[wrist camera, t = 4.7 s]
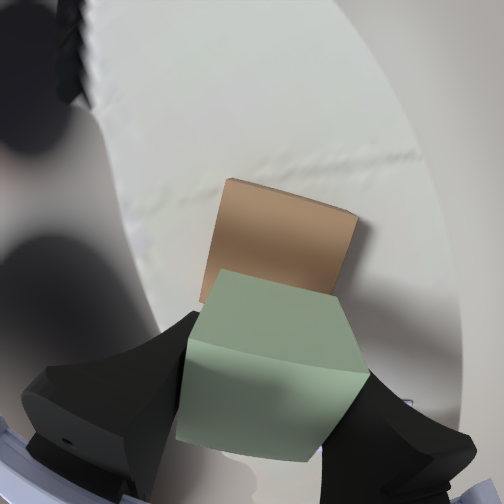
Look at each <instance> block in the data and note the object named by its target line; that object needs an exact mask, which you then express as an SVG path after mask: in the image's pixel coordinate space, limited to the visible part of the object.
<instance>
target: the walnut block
mask: <svg viewBox="0 0 504 504" xmlns="http://www.w3.org/2000/svg"><path fill="white" fill-rule="evenodd" d="M357 220H358V217H357V216H356V215H354V214H352V213H351V212H349V211H347V210H344V209H341V208H338V207H335V206H332V205H329V204H325V203H322V202H319V201H315V200H312V199H309V198H305V197H302V196H299V195H295V194H292V193H288V192H285V191H281V190H277V189H274V188H270V187H266V186H262V185H259V184H255V183H251V182H247V181H243V180H239V179H235V178H230V179H226V182H225V186H224V190H223V194H222V198H221V203H220V207H219V211H218V215H217V220H216V224H215V228H214V233H213V237H212V242H211V246H210V251H209V255H208V260H207V265H206V269H205V274H204V279H203V284H202V289H201V294H200V299H199V302H201V303H204V304H205V301H206V299H207V297H208V295H209V293H210V291H211V289H212V287H213V284H214V282H215V280H216V278H217V276H218V274H219V272H220V270H221V269H225V270H228V271H232V272H236V273H240V274H244V275H248V276H252V277H256V278H260V279H264V280H268V281H272V282H277V283H281V284H285V285H289V286H293V287H297V288H301V289H306V290H310V291H314V292H318V293H323V294H327V295H331V293H332V290H333V288H334V285H335V283H336V280H337V277H338V275H339V272H340V269H341V266H342V264H343V261H344V258H345V255H346V253H347V250H348V247H349V244H350V241H351V238H352V235H353V232H354V229H355V226H356V223H357Z"/></svg>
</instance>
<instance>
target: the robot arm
mask: <svg viewBox="0 0 504 504" xmlns="http://www.w3.org/2000/svg"><path fill="white" fill-rule="evenodd" d="M199 314H200V312H196V311H192V312H190V313H189V314H188V315H186V316H185V317H184V318H183V319H181V320H180V321H179V322H177V323H176V324H174V325H173V326H172V327H170V328H169V329H167V330H166V331H164V332H163V333H161V334H160V335H158V336H156V337H154V338H153V339H151V340H149V341H147V342H145V343H144V344H142V345H140V346H137V347H135V348H133V349H131V350H128V351H126V352H123V353H120V354H117V355H114V356H110V357H108V358H104V359H100V360H96V361H91V362H86V363H80V364H72V365H60V366H47V367H46V368H45V369H44V370H43V371H42V372H40V374H38V376H37V377H36V378H35V379H34V380H33V381H32V382H31V384H30V385H29V386H28V387H27V388H26V389H25V390H24V391H23V393H22V394H21V400H22V404H23V407H24V410H25V411H26V413H27V416H28V417H29V419H30V421H31V423H32V425H33V427H34V429H35V430H36V433H35V434H34V436H33V437H32V439H31V440H30V441H29V442H28V441H27V440H25V439H24V438H23V437H21V436H20V435H19V434H17V433H16V432H15V431H13V430H12V429H11V428H10V427H8V425H7V423H6V421H5V419H4V418H3V416H2V415H1V413H0V495H1V496H2V497H3V498H4V499H5V500H6V501H7V502H9V503H10V504H150V503H149V501H150V496H151V492H152V489H153V485H154V482H155V478H156V475H157V471H158V468H159V464H160V461H161V457H162V454H163V451H164V448H165V445H166V441H167V438H168V435H169V432H170V429H171V426H172V423H173V420H174V418H175V415H176V413H177V411H178V409H179V403H180V395H181V387H182V380H183V372H184V365H185V358H186V351H187V344H188V338H189V336H190V334H191V331H192V329H193V327H194V325H195V323H196V321H197V318H198V316H199ZM369 372H370V376H369V377H368V379H367V380H366V382H365V384H364V385H363V387H362V388H361V390H360V392H359V393H358V395H357V396H356V398H355V399H354V401H353V402H352V404H351V405H350V407H349V408H348V410H347V411H346V413H345V414H344V415H343V417H342V418H341V420H340V421H339V422H338V424H337V425H336V426H335V428H334V429H333V431H332V432H331V433H330V434H329V436H328V437H327V438H326V440H325V441H324V442H323V444H322V445H321V446H320V447H319V449H318V450H317V451H319V452H322V483H321V495H320V504H502V503H501V501H500V498H499V496H498V494H497V491H496V489H495V487H494V484H493V482H492V480H491V479H490V478H489V479H487V480H485V481H483V482H480V483H478V484H476V485H474V486H473V487H471V488H470V489H468V490H467V491H466V492H464V493H463V494H462V495H461V496H460V497H457V498H455V499H452V500H449V497H448V494H447V491H448V490H450V489H451V485H450V482H449V481H450V480H451V479H453V478H454V477H455V476H456V475H457V474H458V473H460V472H461V471H462V470H463V469H464V468H466V467H467V466H468V465H469V464H470V463H471V461H472V460H473V459H474V458H475V455H476V453H477V449H476V447H475V445H474V443H473V441H472V439H471V437H470V436H469V435H466V434H463V433H460V432H458V431H455V430H453V429H450V428H448V427H445V426H443V425H441V424H439V423H437V422H435V421H433V420H431V419H430V418H428V417H426V416H425V415H423V414H421V413H420V412H418V411H417V410H415V409H414V408H412V407H411V406H412V402H411V401H403V400H401V399H400V398H399V397H398V396H396V395H395V394H394V393H393V392H392V391H391V390H390V389H389V388H387V387H386V386H385V385H384V384H383V383H382V382H381V381H380V380H379V379H378V378H377V377H376V376H375V375H374V374H373V373H372V372H371V371H370V370H369Z"/></svg>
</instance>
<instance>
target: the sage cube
mask: <svg viewBox="0 0 504 504" xmlns="http://www.w3.org/2000/svg"><path fill="white" fill-rule="evenodd" d="M369 376H370V372H369V369H368V367H367V364H366V362H365V360H364V357H363V355H362V352H361V350H360V348H359V345H358V343H357V341H356V338H355V336H354V334H353V332H352V329H351V327H350V325H349V322H348V320H347V318H346V316H345V314H344V311H343V309H342V307H341V305H340V303H339V300H338V298H337V297H336V296H331V295H327V294H323V293H318V292H314V291H310V290H306V289H301V288H297V287H293V286H289V285H285V284H281V283H277V282H272V281H268V280H264V279H260V278H256V277H252V276H248V275H244V274H240V273H236V272H232V271H228V270H225V269H221V270H220V272H219V274H218V276H217V278H216V280H215V282H214V284H213V287H212V289H211V291H210V293H209V295H208V297H207V299H206V301H205V304H204V306H203V308H202V310H201V312H200V314H199V316H198V318H197V321H196V323H195V325H194V327H193V329H192V331H191V334H190V336H189V338H188V344H187V351H186V358H185V365H184V372H183V380H182V387H181V395H180V403H179V412H178V422H177V430H176V431H177V432H176V439H177V440H180V441H184V442H187V443H191V444H195V445H199V446H203V447H207V448H211V449H216V450H220V451H225V452H230V453H235V454H240V455H246V456H252V457H259V458H266V459H274V460H283V461H294V462H308V461H309V459H310V458H311V457H312V456H313V455H314V453H315V452H316V451H317V450H318V449H319V447H320V446H321V445H322V444H323V442H324V441H325V440H326V438H327V437H328V436H329V434H330V433H331V432H332V431H333V429H334V428H335V426H336V425H337V424H338V422H339V421H340V420H341V418H342V417H343V415H344V414H345V413H346V411H347V410H348V408H349V407H350V405H351V404H352V402H353V401H354V399H355V398H356V396H357V395H358V393H359V392H360V390H361V388H362V387H363V385H364V384H365V382H366V380H367V379H368V377H369Z"/></svg>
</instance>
